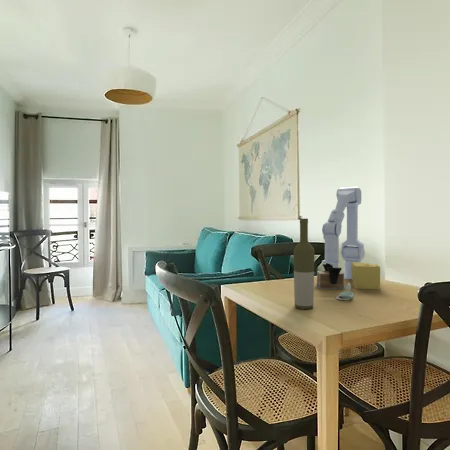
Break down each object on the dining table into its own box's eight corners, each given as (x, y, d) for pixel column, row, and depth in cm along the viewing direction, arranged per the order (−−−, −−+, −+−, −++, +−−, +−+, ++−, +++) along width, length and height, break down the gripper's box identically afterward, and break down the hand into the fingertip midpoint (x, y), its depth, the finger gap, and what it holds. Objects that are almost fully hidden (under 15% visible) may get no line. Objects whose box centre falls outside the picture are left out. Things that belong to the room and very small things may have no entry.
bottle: (297, 303, 122) (297, 218, 121) (317, 306, 118) (317, 218, 117) (290, 308, 116) (290, 218, 115) (311, 311, 112) (311, 218, 111)
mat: (314, 284, 153) (314, 284, 153) (344, 285, 152) (344, 284, 152) (318, 289, 144) (318, 288, 144) (350, 289, 143) (350, 288, 143)
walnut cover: (316, 284, 152) (316, 271, 151) (340, 284, 151) (340, 271, 151) (319, 287, 146) (319, 273, 145) (344, 287, 145) (344, 273, 145)
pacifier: (334, 301, 126) (352, 302, 124) (334, 283, 126) (351, 284, 124) (337, 296, 133) (354, 297, 130) (337, 280, 133) (353, 281, 130)
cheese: (376, 285, 151) (376, 262, 151) (381, 290, 141) (381, 266, 141) (351, 284, 154) (351, 262, 154) (353, 289, 144) (354, 265, 143)
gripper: (318, 248, 155) (318, 278, 156) (325, 252, 141) (325, 285, 141) (334, 248, 155) (334, 278, 155) (343, 252, 140) (343, 285, 141)
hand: (331, 282), depth 148 cm, fingers open, 7 cm apart
